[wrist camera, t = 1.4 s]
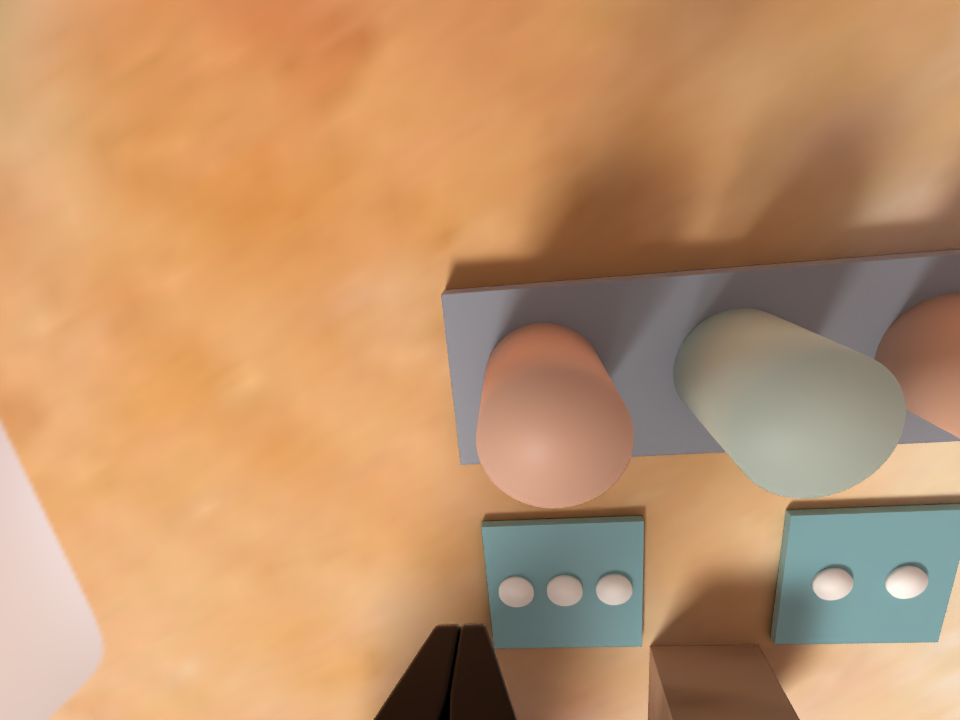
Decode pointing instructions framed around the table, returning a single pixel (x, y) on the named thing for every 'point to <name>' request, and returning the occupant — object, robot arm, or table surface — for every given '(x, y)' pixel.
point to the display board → (675, 308)
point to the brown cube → (714, 684)
